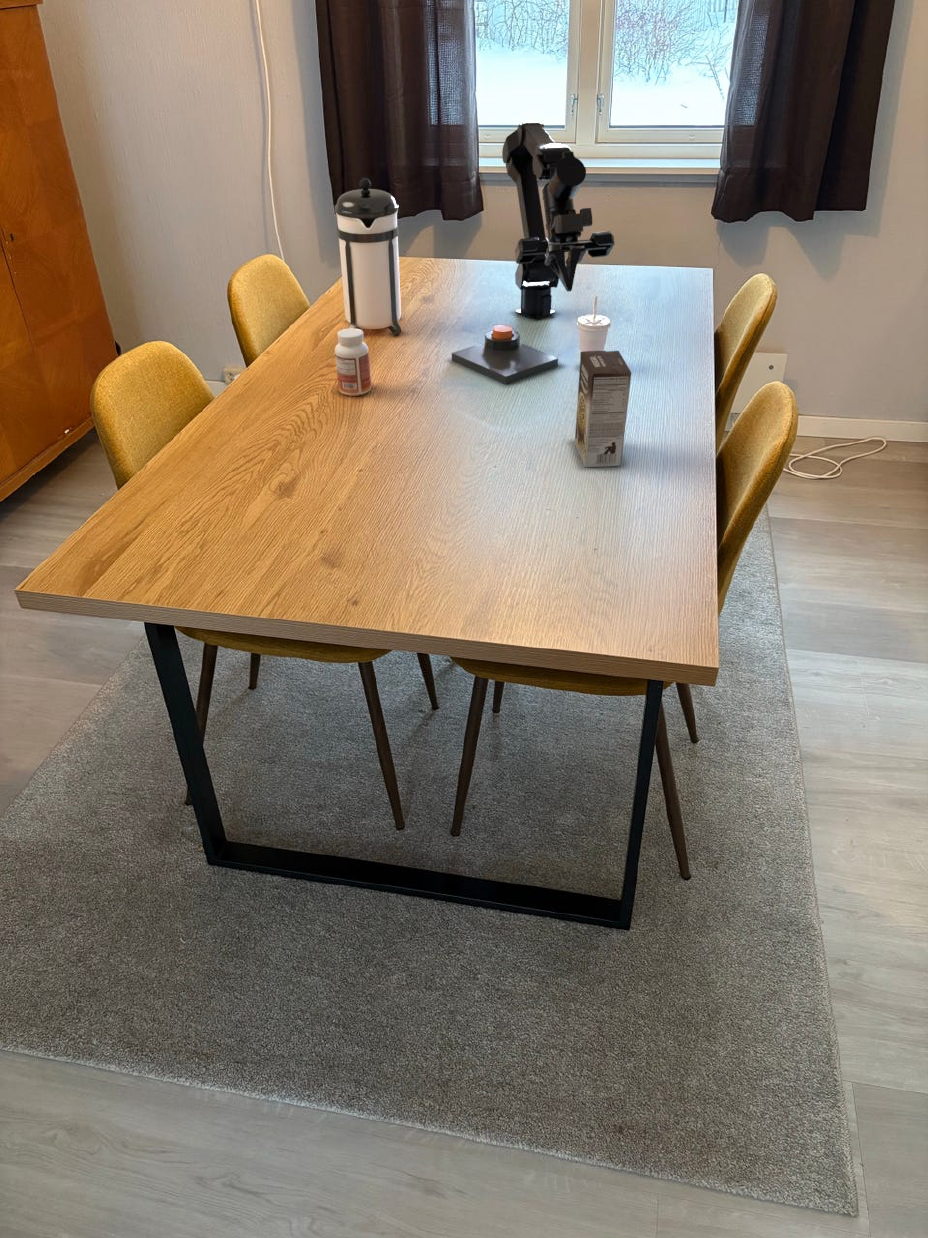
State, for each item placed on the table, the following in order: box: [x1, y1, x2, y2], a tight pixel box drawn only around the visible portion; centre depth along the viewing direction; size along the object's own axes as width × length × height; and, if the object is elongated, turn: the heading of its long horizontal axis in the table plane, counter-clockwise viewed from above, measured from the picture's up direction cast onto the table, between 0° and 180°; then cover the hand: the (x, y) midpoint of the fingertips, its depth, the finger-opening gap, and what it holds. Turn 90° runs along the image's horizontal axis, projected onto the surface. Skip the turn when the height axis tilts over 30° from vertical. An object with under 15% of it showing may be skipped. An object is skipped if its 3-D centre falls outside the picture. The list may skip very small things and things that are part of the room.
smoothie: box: [576, 295, 612, 360], centre depth 180 cm, size 6×6×14 cm
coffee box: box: [574, 350, 632, 468], centre depth 151 cm, size 9×6×16 cm
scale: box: [451, 329, 559, 386], centre depth 186 cm, size 16×14×4 cm
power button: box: [492, 324, 514, 339], centre depth 190 cm, size 4×4×2 cm
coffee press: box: [334, 177, 402, 336], centre depth 195 cm, size 17×16×30 cm
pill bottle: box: [334, 327, 372, 397], centre depth 173 cm, size 6×6×11 cm
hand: (569, 290), depth 183 cm, fingers closed
